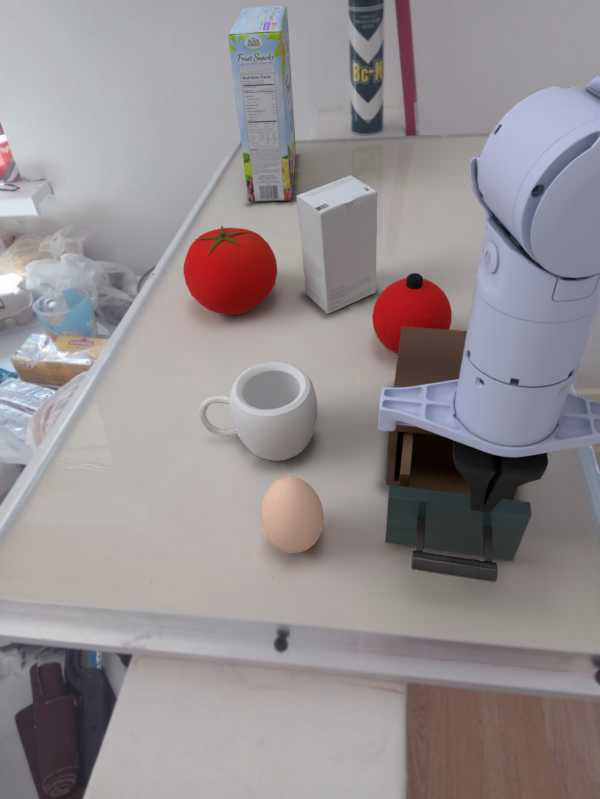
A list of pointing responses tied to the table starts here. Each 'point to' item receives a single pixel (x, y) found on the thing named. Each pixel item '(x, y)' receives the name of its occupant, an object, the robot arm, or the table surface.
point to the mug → (269, 410)
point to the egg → (292, 515)
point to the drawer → (449, 514)
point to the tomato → (230, 270)
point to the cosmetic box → (339, 242)
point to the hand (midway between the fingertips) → (480, 499)
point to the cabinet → (422, 377)
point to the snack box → (264, 101)
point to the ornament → (409, 309)
